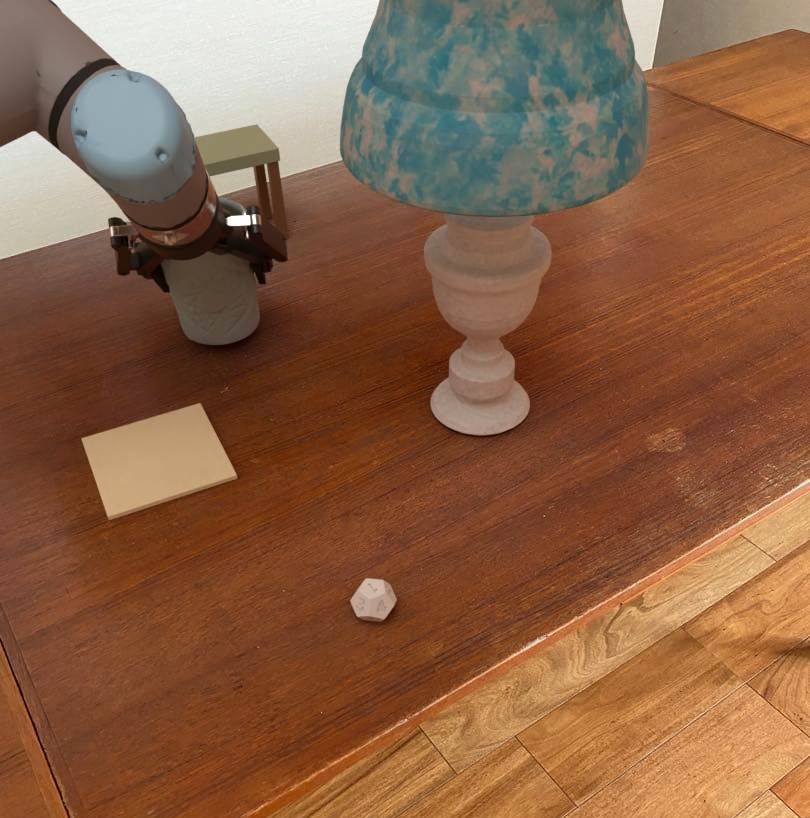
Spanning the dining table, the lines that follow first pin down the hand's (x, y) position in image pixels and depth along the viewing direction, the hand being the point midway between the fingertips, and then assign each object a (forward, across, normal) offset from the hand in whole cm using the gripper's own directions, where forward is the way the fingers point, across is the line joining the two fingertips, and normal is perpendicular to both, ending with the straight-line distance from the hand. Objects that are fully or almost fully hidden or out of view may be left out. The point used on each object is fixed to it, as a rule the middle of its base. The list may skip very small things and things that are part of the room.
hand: (214, 276), depth 95 cm
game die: (-28, +13, -35) cm, 47 cm away
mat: (-13, -6, -20) cm, 25 cm away
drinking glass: (+1, 0, -5) cm, 5 cm away
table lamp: (-10, +26, -18) cm, 33 cm away
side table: (+17, -1, +9) cm, 19 cm away
